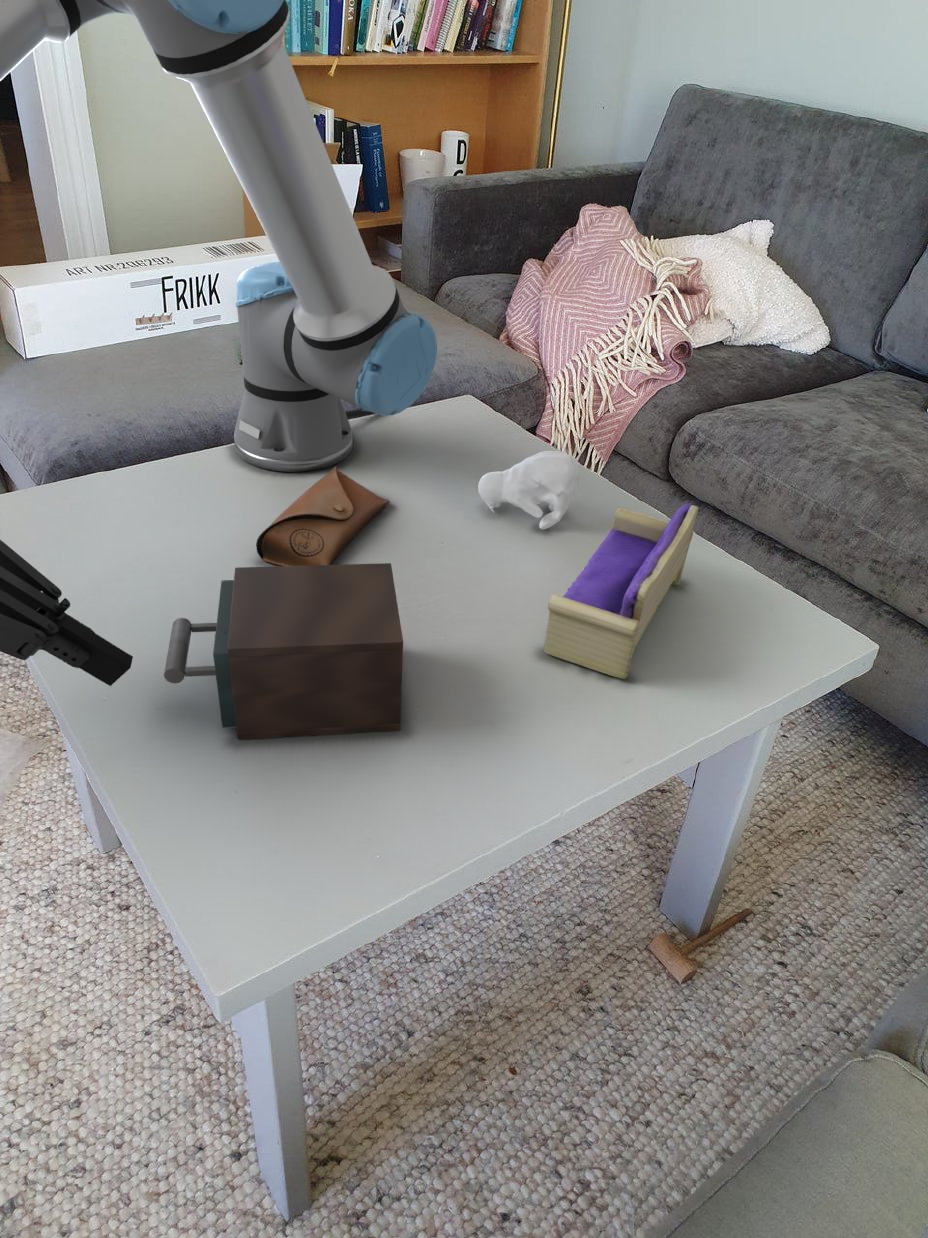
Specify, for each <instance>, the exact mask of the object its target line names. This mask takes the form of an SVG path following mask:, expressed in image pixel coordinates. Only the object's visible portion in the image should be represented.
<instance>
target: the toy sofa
mask: <svg viewBox="0 0 928 1238" xmlns="http://www.w3.org/2000/svg"><path fill="white" fill-rule="evenodd" d="M698 512H699V506H697V505H692V504H690V503H685V504H683V505H681V506H680V507H679V508H678V509H677V510H676V512H675V513H674V514H673V516H672V517H671V518H670V520H669V521H667V520H664V519H660V518H656V517H653V516H650V515H646V514H643V513H640V512H637V511H634V510H630V509H627V508H623V507H618V508H617V509H616V511H615V513H614V514H615V515H614V517H613V523H612V527H611V529H610V531H609V532H608V534H607V536H606V537H605V538H604V540H602V542H601V543H600V545H599V546H598V548H597V549H595V551H594V553H593V554H592V556H591V557H590V559H589V560H588V562H587V564H586V565H585V567H584V568H583V570H582V571H580V573H579V575H578V576H577V577H576V579H575V581H573V582H572V584H571V585H570V586H569V588H567V591H566V592H565V593H564V595H563V596H561V595H558V594H552V595H551V596H550V598H549V601H548V605H547V607H548V608H547V609H548V611H549V612H548V620H547V627H546V633H545V641H544V653H545V654H546V655H549V656H552V657H555V658H558V659H559V660H560V659H561V660H564V661H567V662H569V663H573V664H576V665H579V666H582V667H585V668H587V669H590V670H593V671H596V672H600V673H602V674H606V675H607V676H612V677H615V678H618V679H620V680H625V679H627V678H628V676H629V673H630V669H631V663H632V658H633V654H634V651H635V649H636V647H637V646H638V643H639V642H640V640H641V638H642V637H643V634H644V633H645V631H646V629H647V628H648V625H649V624H650V622H651V620H652V618H653V617H654V616H655V614H656V612H657V610H658V608H659V606H660V604H661V603H662V601H663V599H664V598H665V596H666V594H667V592H668V591H669V589H670V587H671V586H679V584H680V582H681V579H682V574H683V571H684V567H685V563H686V559H687V556H688V552H689V549H690V546H691V542H692V540H693V536H694V526H695V523H696V520H697V517H698Z"/></svg>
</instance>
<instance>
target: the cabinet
mask: <svg viewBox="0 0 928 1238" xmlns="http://www.w3.org/2000/svg"><path fill="white" fill-rule="evenodd" d="M233 580H234V584H233V595H232V606H231V617H230V628H229V639H228V657H229V666H230V675H231V684H232V693H233V702H234V710H235V719H236V727H235V729H236V736H237V737H236V738H237V740H256V739H271V738H274V739H275V738H289V737H290V738H292V737H307V736H310V737H311V736H327V735H342V734H343V735H344V734H359V733H362V734H363V733H380V732H381V733H382V732H397V731H401V729H402V704H403V703H402V700H403V699H402V698H403V671H404V670H403V667H404V663H403V662H404V638H403V631H402V624H401V619H400V612H399V605H398V599H397V593H396V587H395V586H396V585H395V580H394V574H393V568H392V563H391V562H385V563H379V562H378V563H354V564H353V563H350V564H349V563H348V564H332V565H308V566H277V565H273V566H243V567H239V566H238V567H234V574H233Z"/></svg>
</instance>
